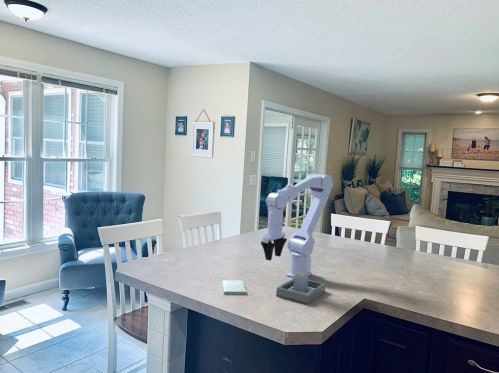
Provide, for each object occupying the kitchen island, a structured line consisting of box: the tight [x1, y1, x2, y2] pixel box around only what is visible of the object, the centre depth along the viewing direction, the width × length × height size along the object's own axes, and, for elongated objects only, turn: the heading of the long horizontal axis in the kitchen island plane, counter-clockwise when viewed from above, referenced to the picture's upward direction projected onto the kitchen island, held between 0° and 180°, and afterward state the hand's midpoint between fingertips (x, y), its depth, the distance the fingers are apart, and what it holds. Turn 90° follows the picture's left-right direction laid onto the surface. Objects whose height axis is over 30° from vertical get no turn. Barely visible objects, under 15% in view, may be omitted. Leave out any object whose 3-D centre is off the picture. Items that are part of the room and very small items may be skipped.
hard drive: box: [221, 279, 248, 296], centre depth 142 cm, size 2×8×12 cm
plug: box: [293, 273, 310, 293], centre depth 140 cm, size 4×4×7 cm
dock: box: [275, 277, 327, 305], centre depth 140 cm, size 16×12×3 cm
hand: (273, 257), depth 152 cm, fingers open, 7 cm apart
